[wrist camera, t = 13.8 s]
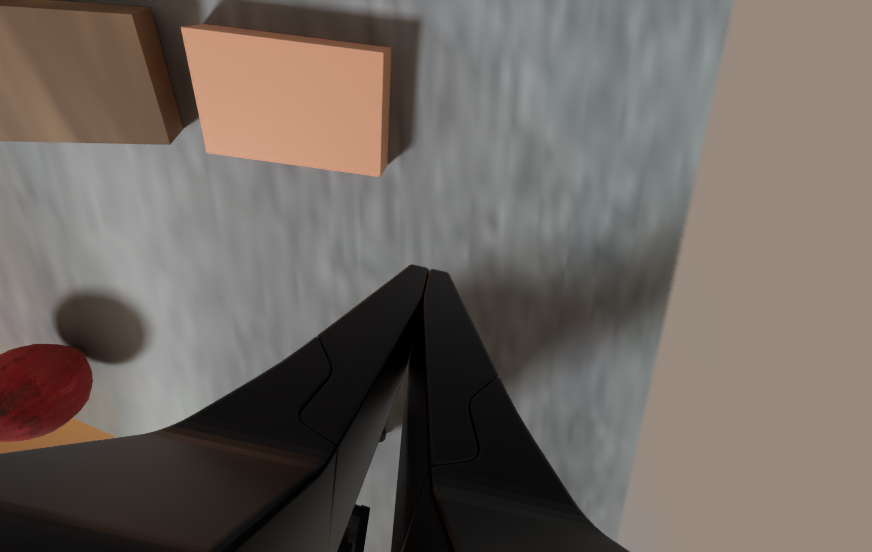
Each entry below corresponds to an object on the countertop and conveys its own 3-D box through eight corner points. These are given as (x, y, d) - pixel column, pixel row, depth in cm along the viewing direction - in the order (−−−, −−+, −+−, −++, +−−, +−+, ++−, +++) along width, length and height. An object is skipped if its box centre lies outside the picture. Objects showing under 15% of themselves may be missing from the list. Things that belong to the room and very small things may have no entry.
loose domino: (383, 52, 17) (180, 26, 17) (380, 177, 19) (206, 152, 20) (393, 46, 18) (208, 22, 19) (389, 161, 21) (228, 139, 21)
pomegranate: (54, 305, 29) (-77, 401, 22) (133, 356, 31) (34, 458, 24) (26, 342, 31) (-99, 438, 25) (100, 388, 34) (3, 488, 27)
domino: (131, 14, 16) (-127, -3, 15) (170, 144, 19) (-42, 140, 18) (150, 7, 18) (-82, -10, 16) (183, 128, 21) (-11, 123, 20)
